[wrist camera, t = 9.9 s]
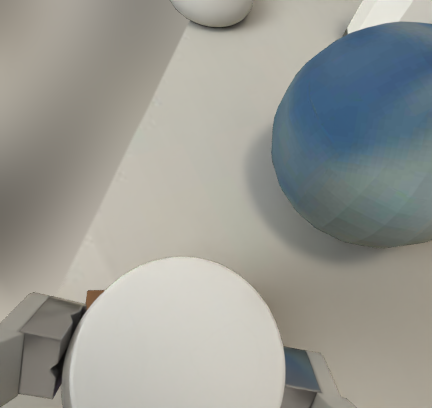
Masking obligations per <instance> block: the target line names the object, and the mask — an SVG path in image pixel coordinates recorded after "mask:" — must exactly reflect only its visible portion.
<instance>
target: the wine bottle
mask: <svg viewBox="0 0 432 408" xmlns="http://www.w3.org/2000/svg"><path fill="white" fill-rule="evenodd" d="M400 21H403V22H421V23H430V24H432V0H363V1H362V3H361V5H360V6H359V8H358V10H357V12H356V13H355V15H354V17H353V19H352V20H351V22H350V24H349V26H348V27H347V29H346V31H345V33H344V35H343V37H344V36H346V35H347V34H349V33H352V32H355V31H358V30H361V29H364V28H367V27H372V26H376V25H380V24H384V23H391V22H400Z"/></svg>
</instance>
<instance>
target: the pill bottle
mask: <svg viewBox="0 0 432 408" xmlns="http://www.w3.org/2000/svg"><path fill="white" fill-rule="evenodd" d="M284 386H285V355H284V348H283V344H282V340H281V336H280V332H279V329H278V327H277V324H276V321H275V319H274V317H273V315H272V313H271V311H270V309H269V308H268V306H267V305H266V303H265V302H264V300H263V299H262V297H261V296H260V295H259V293H258V292H257V291H256V290H255V289H254V288H253V287H252V286H251V285H250V283H248V282H247V281H246V280H244V279H243V278H242V277H241V276H240V275H238V274H237V273H235V272H234V271H232V270H230V269H229V268H227V267H225V266H223V265H221V264H219V263H216V262H213V261H210V260H206V259H202V258H195V257H168V258H163V259H158V260H154V261H150V262H148V263H145V264H143V265H140V266H138V267H136V268H134V269H132V270H131V271H129V272H127V273H126V274H124V275H123V276H121V277H120V278H118V279H117V280H116V281H115V282H114V283H113V284H112V285H110V286H109V287H108V288H107V289H106V290H105V291H104V292H103V293H102V294H101V295H100V296H99V297H98V298H97V299H96V300H95V301H94V302H93V303H92V305H91V306H90V307H89V308H88V310H87V311H86V313H85V314H84V315H83V317H82V318H81V320H80V322H79V323H78V325H77V327H76V329H75V331H74V333H73V335H72V338H71V340H70V343H69V346H68V349H67V352H66V355H65V360H64V365H63V372H62V387H61V388H62V405H63V408H280V407H281V404H282V399H283V394H284Z"/></svg>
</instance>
